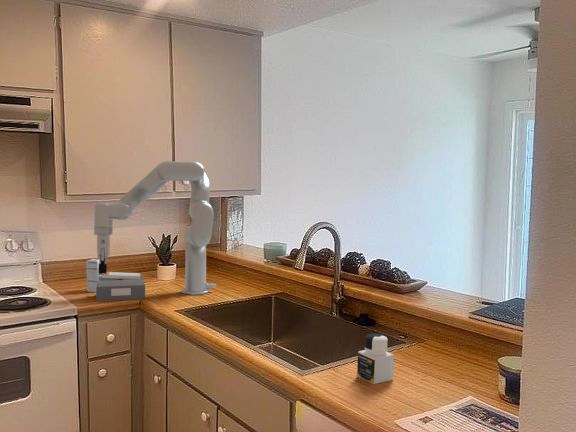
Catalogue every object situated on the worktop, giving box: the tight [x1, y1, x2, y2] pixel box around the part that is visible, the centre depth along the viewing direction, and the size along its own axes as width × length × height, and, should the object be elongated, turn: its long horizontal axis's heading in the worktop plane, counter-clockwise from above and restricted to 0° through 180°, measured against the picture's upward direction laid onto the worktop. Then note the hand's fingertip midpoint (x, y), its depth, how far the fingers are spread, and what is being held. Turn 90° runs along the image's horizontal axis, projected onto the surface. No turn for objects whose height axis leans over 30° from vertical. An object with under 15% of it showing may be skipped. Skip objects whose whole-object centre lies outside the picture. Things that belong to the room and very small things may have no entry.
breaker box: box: [95, 274, 146, 302], centre depth 239 cm, size 20×12×8 cm, turn 107°
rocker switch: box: [102, 271, 141, 279], centre depth 238 cm, size 16×7×2 cm, turn 107°
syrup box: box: [86, 258, 102, 293], centre depth 249 cm, size 6×6×14 cm
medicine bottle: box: [356, 333, 395, 385], centre depth 149 cm, size 7×7×12 cm
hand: (102, 273), depth 236 cm, fingers closed
